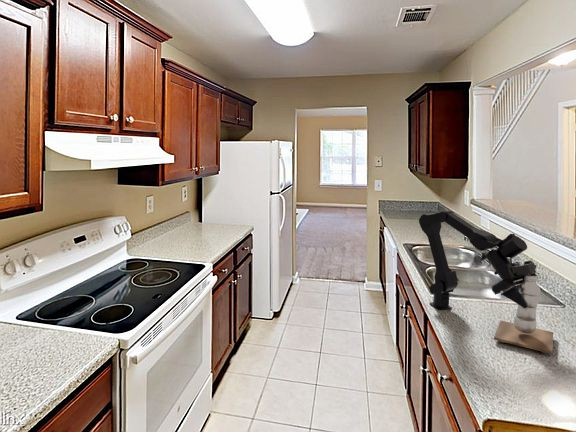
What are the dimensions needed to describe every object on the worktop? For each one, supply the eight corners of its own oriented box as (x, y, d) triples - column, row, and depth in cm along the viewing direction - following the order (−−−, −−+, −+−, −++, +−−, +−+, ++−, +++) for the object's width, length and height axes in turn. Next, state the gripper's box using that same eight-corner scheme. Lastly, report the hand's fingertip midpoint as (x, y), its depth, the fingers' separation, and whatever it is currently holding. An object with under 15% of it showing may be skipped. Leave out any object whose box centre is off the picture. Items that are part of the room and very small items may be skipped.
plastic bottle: (525, 326, 131) (532, 271, 128) (540, 335, 125) (547, 277, 121) (508, 327, 131) (514, 271, 127) (522, 336, 124) (529, 278, 121)
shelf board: (493, 342, 126) (494, 337, 126) (500, 325, 139) (500, 320, 139) (551, 357, 117) (552, 351, 117) (552, 337, 130) (553, 332, 129)
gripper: (504, 256, 122) (536, 300, 114) (535, 249, 131) (567, 290, 124) (479, 273, 130) (507, 315, 123) (510, 265, 139) (538, 304, 132)
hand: (531, 305), depth 125 cm, fingers closed on plastic bottle, 6 cm apart
